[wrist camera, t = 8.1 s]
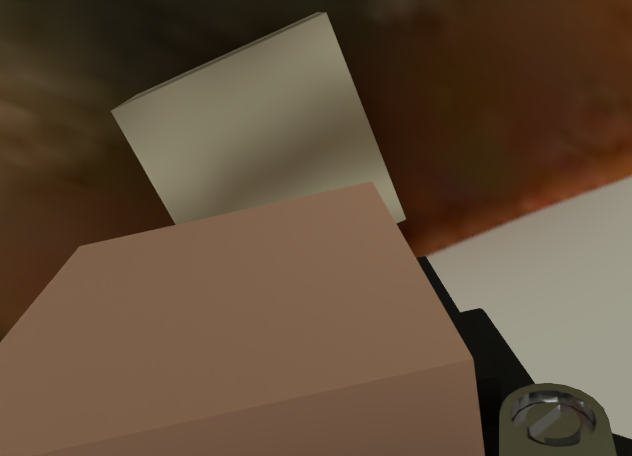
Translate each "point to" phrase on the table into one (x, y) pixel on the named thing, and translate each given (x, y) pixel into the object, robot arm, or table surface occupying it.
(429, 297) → the terracotta block
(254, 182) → the ash base block
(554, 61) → the table surface
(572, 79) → the table surface
